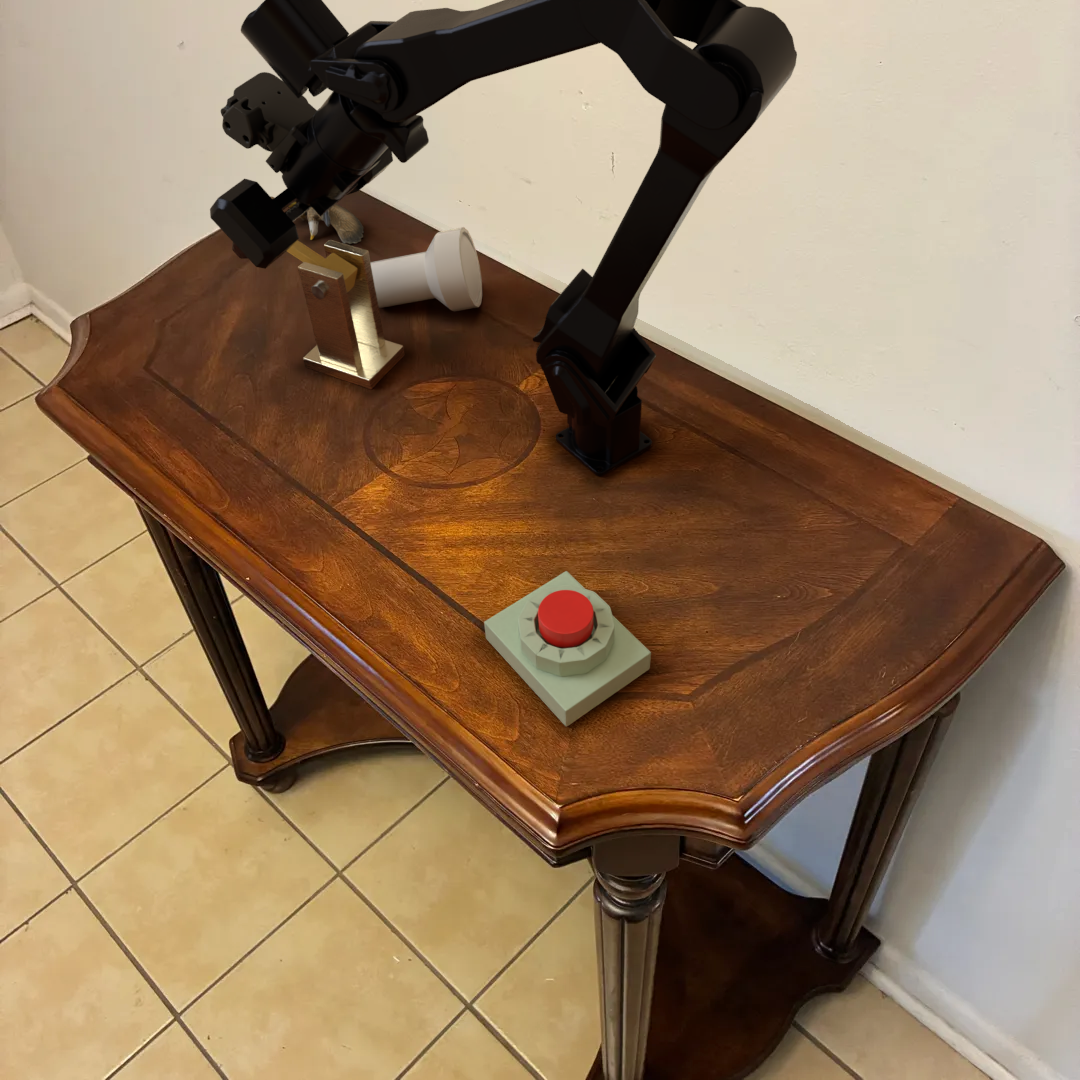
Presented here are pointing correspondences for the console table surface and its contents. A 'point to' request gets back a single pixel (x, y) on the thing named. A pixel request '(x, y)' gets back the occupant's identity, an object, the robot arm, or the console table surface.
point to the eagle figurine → (335, 223)
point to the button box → (568, 653)
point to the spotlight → (432, 274)
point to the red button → (565, 618)
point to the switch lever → (325, 262)
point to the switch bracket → (347, 321)
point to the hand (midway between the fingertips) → (269, 228)
